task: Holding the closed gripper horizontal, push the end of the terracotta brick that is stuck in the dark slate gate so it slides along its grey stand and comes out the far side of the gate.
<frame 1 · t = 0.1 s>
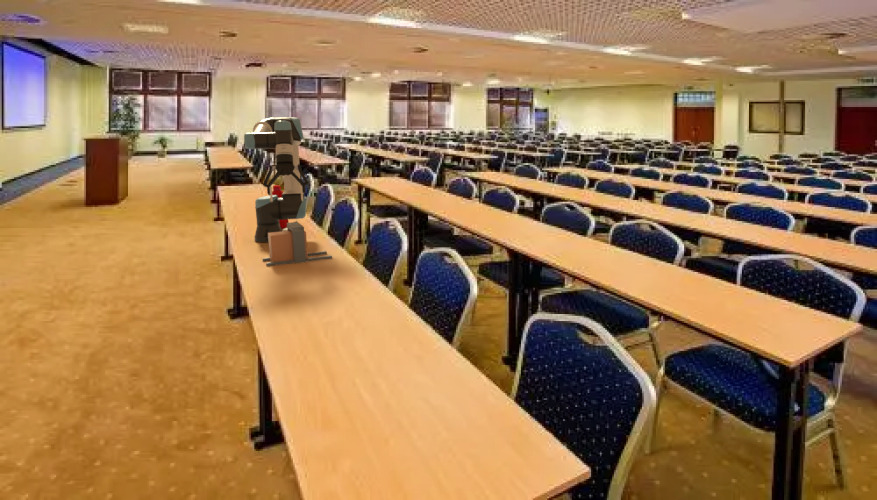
hand: (286, 201, 278), 28 cm above the table, tool tilted 20°, fingers open, 13 cm apart
water bottle: (280, 228, 360), on the table
ink cartridge box: (291, 251, 302), on the table
brick: (287, 246, 282), point 7 cm above the table, slide at 0.0 cm
grey stand: (297, 259, 285), on the table
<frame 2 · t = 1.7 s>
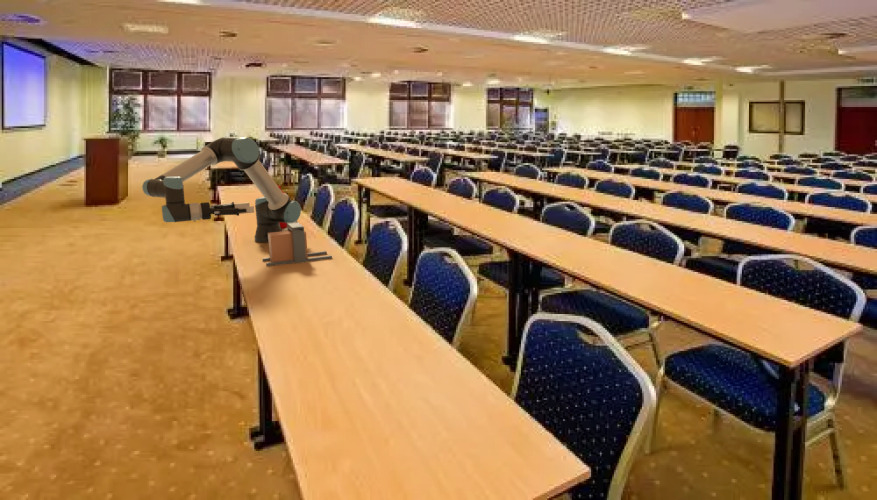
hand: (251, 207, 277), 25 cm above the table, tool horizontal, fingers open, 12 cm apart
nothing on the table moved.
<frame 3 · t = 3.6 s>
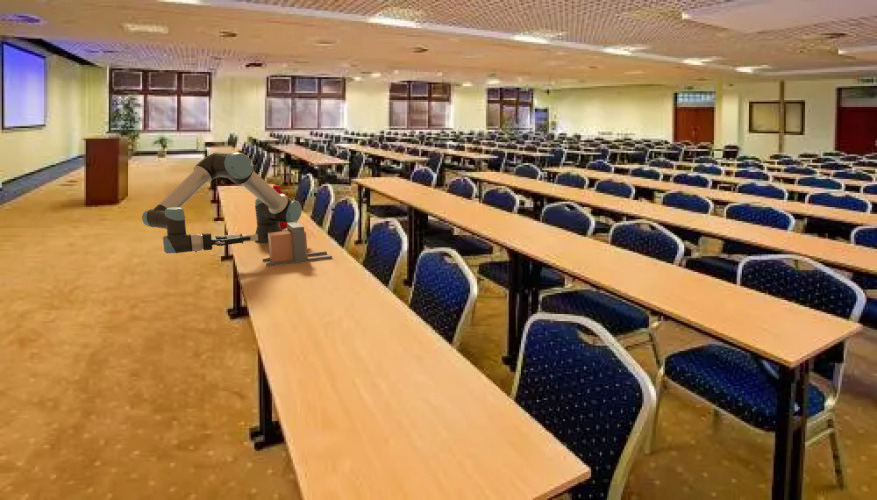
hand: (257, 237, 277), 12 cm above the table, tool horizontal, fingers closed
nothing on the table moved.
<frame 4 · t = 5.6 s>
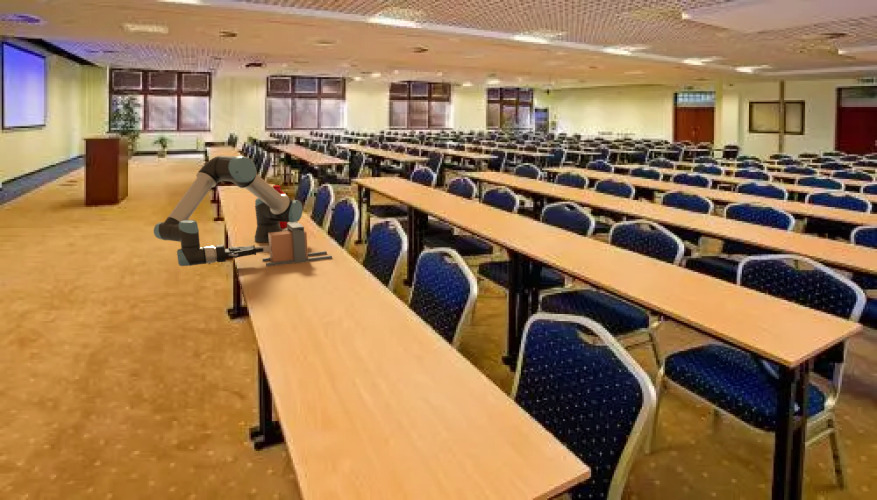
hand: (270, 248, 278), 7 cm above the table, tool horizontal, fingers closed
brick: (288, 246, 282), point 7 cm above the table, slide at 0.2 cm, touching gripper
everything else where it was.
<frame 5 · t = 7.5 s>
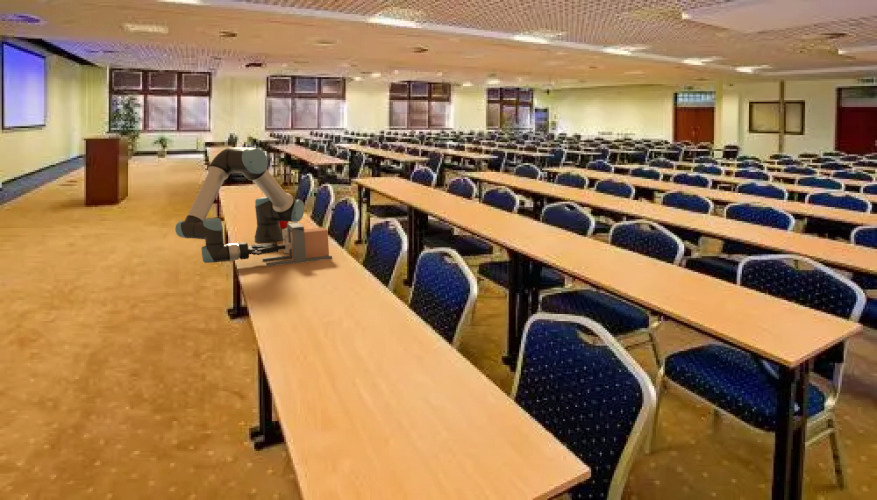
hand: (291, 245, 283), 7 cm above the table, tool horizontal, fingers closed
brick: (309, 244, 286), point 7 cm above the table, slide at 10.1 cm, touching gripper
everything else where it was.
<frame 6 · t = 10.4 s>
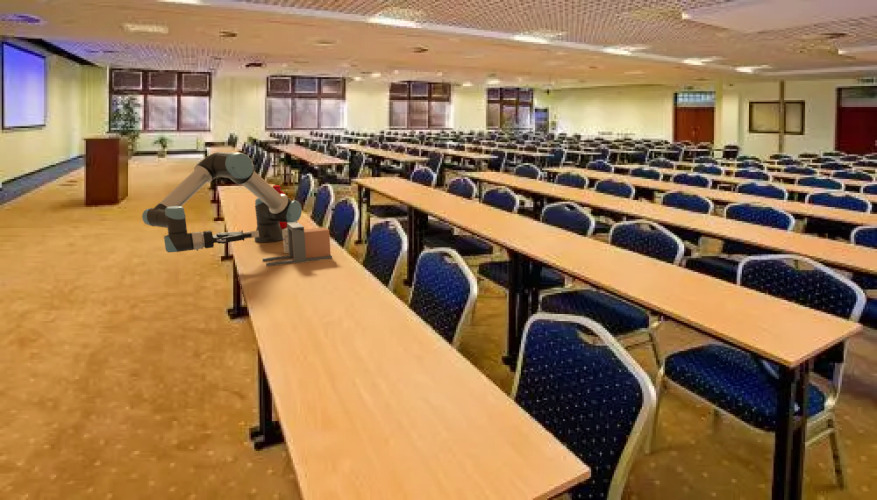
hand: (258, 233, 276), 14 cm above the table, tool horizontal, fingers closed
brick: (311, 243, 287), point 7 cm above the table, slide at 10.8 cm
everything else where it was.
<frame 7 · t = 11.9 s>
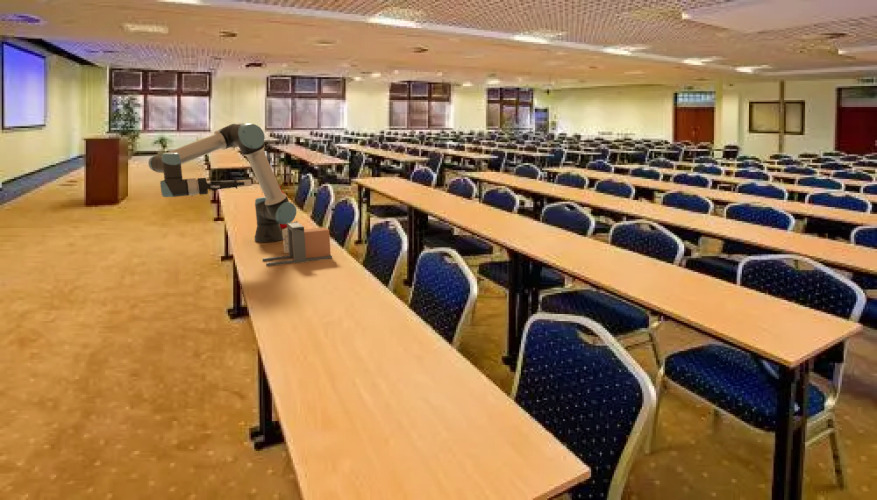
hand: (251, 182, 289), 35 cm above the table, tool horizontal, fingers closed
nothing on the table moved.
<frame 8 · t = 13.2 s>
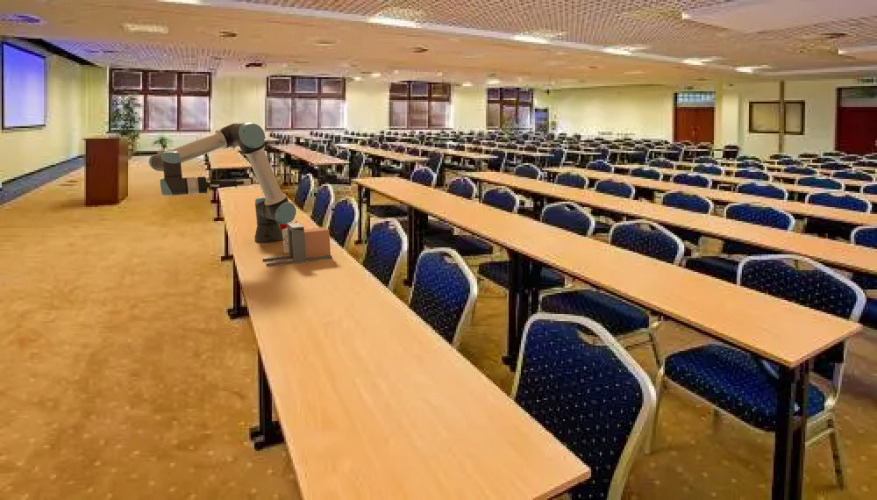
hand: (250, 182, 289), 35 cm above the table, tool horizontal, fingers closed
nothing on the table moved.
at the end: brick slide at 10.8 cm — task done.
